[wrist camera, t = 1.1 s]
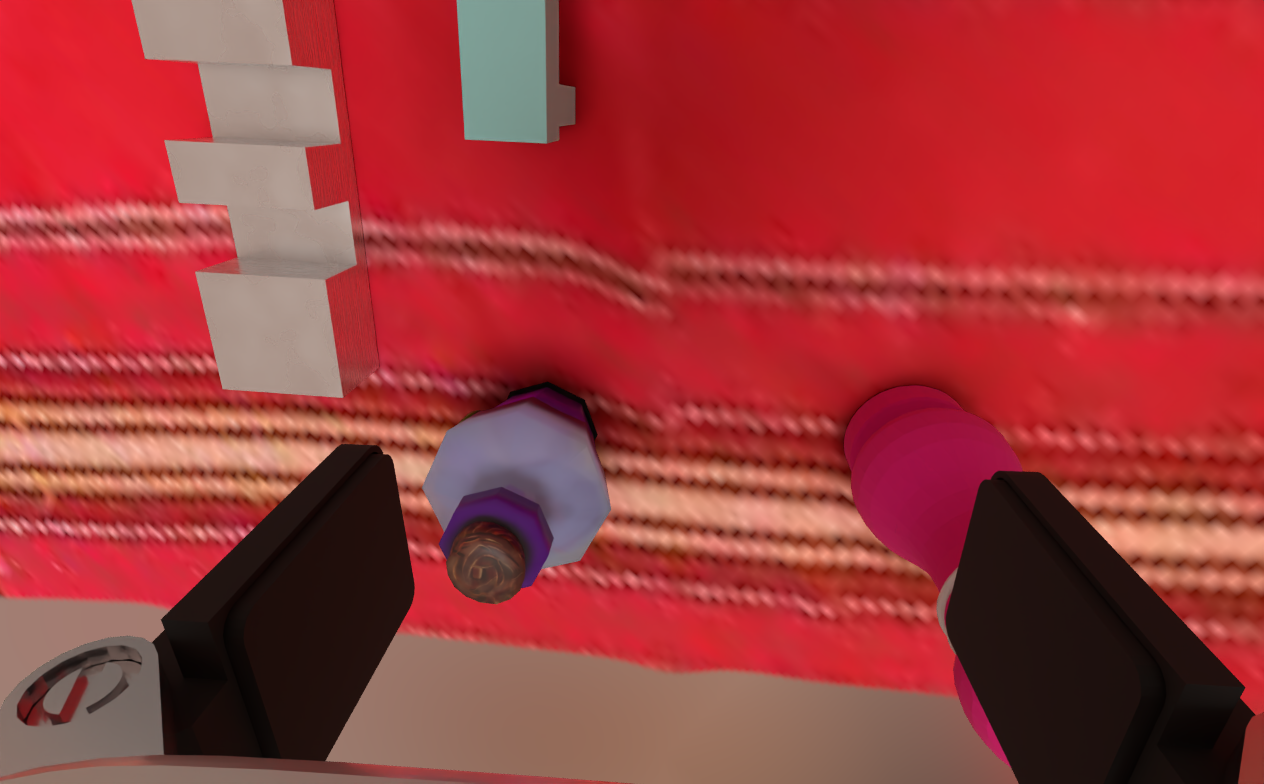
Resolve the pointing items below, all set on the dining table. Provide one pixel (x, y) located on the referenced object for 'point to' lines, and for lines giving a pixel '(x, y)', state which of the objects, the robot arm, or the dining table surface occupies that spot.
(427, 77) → the dining table surface
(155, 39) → the rail
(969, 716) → the pepper mill
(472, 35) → the teal u-shaped block
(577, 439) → the potion bottle
